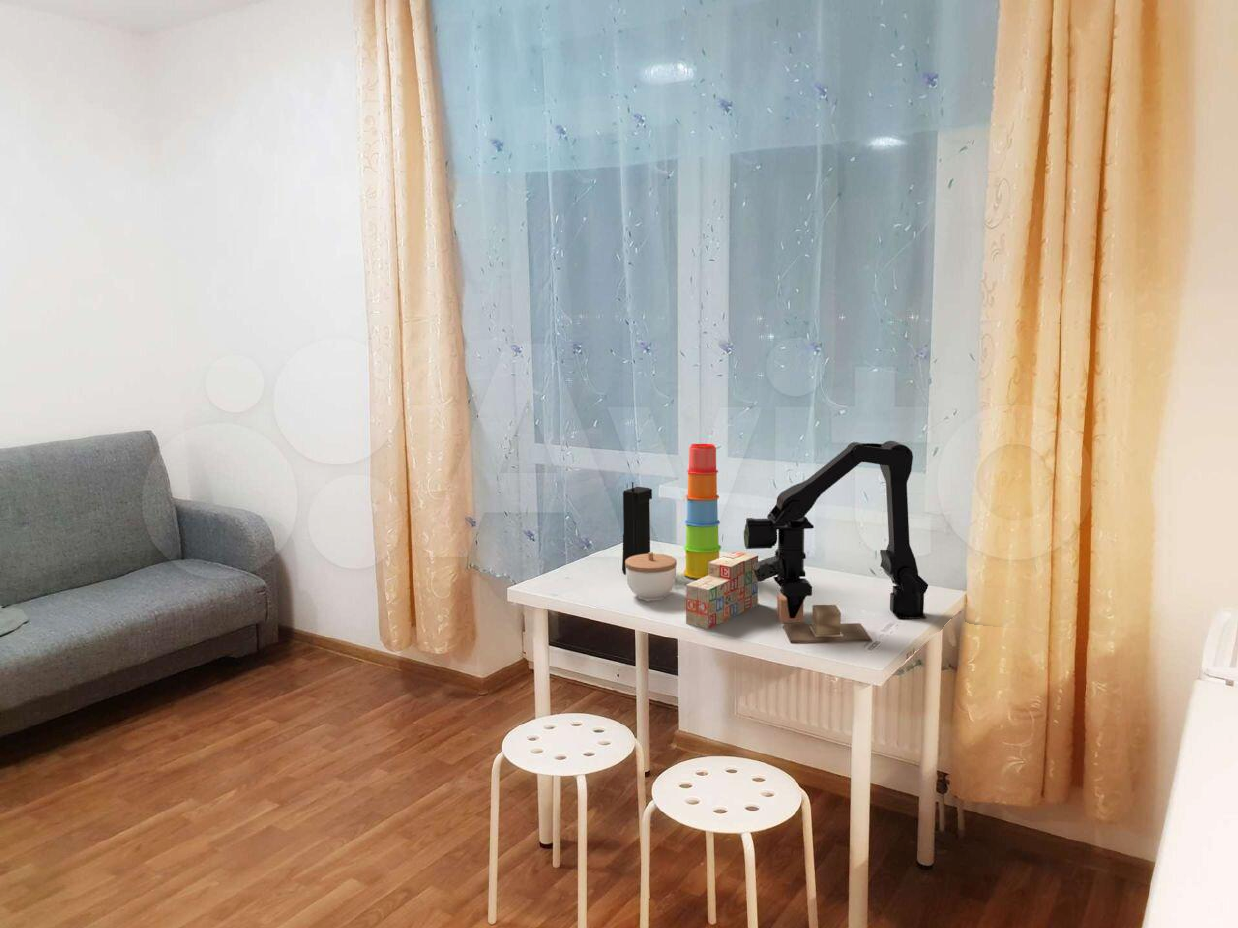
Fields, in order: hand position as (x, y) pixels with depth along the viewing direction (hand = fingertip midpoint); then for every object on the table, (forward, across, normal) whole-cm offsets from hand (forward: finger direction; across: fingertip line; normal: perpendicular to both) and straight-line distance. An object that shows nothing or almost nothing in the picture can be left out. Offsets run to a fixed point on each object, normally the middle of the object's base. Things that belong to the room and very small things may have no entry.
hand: (790, 613), depth 207 cm
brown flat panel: (+1, +10, +6) cm, 12 cm away
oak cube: (0, +10, +6) cm, 12 cm away
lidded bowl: (+1, -18, -31) cm, 36 cm away
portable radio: (+1, -38, -34) cm, 51 cm away
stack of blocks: (+1, -4, -15) cm, 15 cm away
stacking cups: (+1, -34, -17) cm, 38 cm away
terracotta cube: (+1, 0, 0) cm, 1 cm away
